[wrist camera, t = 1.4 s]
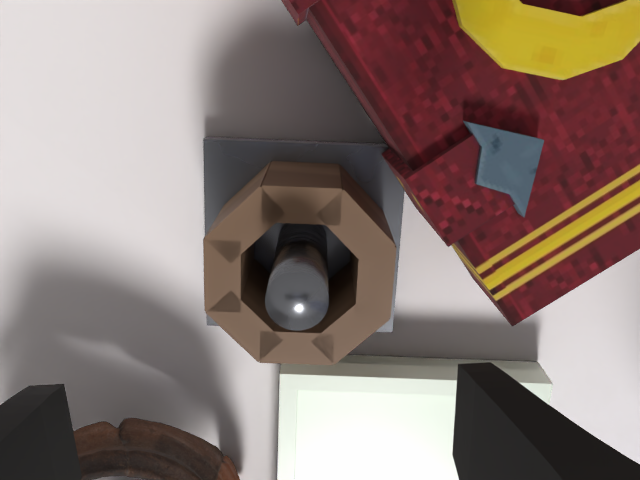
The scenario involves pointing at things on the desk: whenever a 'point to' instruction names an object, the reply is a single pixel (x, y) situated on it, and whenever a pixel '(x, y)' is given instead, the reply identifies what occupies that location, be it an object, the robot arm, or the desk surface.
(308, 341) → the collar
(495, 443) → the robot arm
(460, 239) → the decorative book
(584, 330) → the desk surface
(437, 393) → the tray
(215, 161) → the grey peg stand
